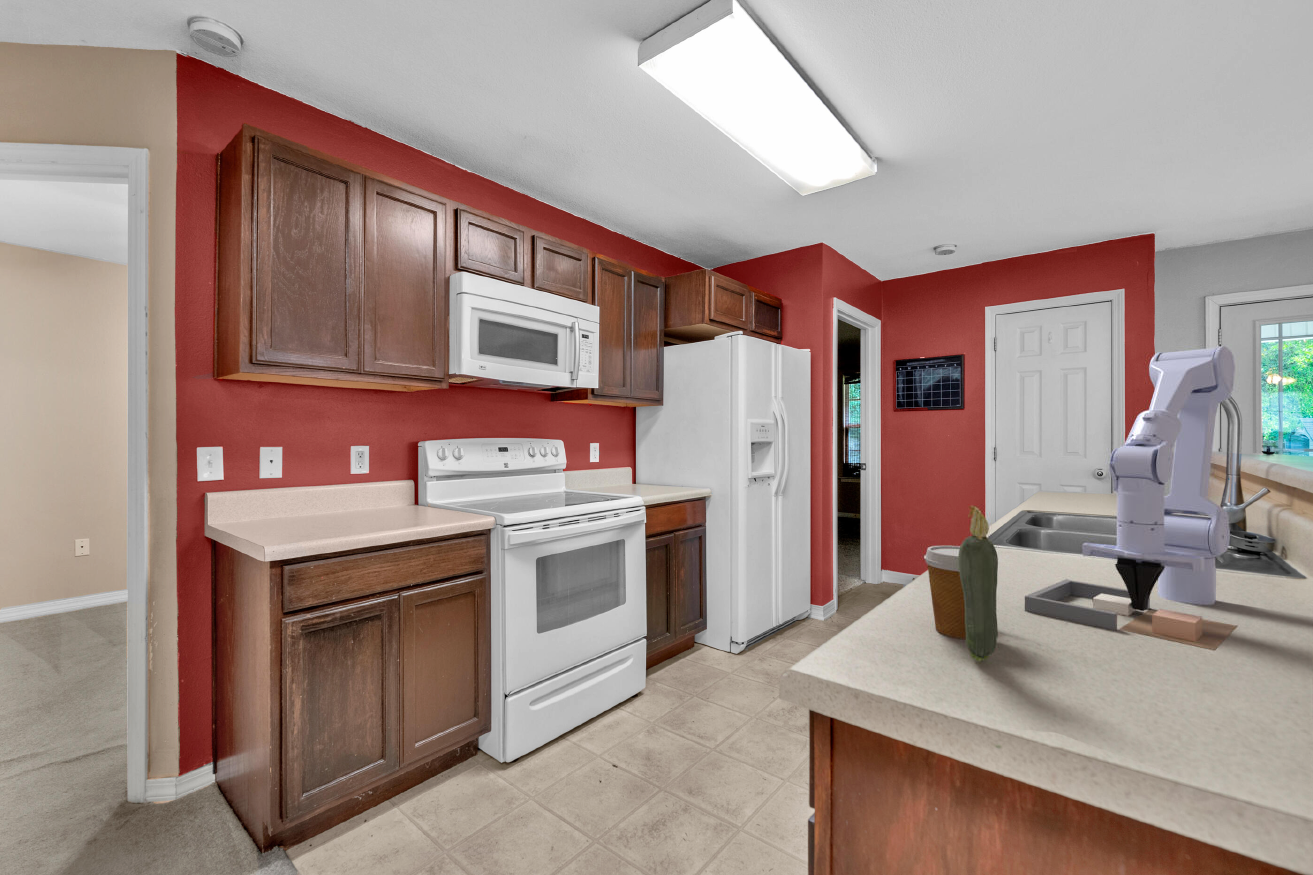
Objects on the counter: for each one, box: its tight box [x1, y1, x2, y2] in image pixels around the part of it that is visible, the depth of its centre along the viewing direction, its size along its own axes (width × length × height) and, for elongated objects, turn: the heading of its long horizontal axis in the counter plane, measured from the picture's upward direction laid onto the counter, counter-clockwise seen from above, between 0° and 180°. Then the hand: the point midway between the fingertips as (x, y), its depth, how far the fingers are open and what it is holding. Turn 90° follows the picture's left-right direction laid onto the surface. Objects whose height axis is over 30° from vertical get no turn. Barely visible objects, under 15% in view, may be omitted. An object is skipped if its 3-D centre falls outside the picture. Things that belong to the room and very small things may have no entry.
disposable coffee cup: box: [923, 545, 966, 640], centre depth 85 cm, size 10×10×12 cm
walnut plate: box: [1118, 608, 1238, 651], centre depth 84 cm, size 16×10×1 cm, turn 127°
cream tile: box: [1092, 593, 1137, 617], centre depth 92 cm, size 4×4×2 cm
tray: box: [1024, 578, 1151, 632], centre depth 92 cm, size 18×12×4 cm, turn 127°
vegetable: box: [958, 505, 999, 663], centre depth 73 cm, size 4×4×20 cm
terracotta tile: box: [1152, 608, 1203, 641], centre depth 81 cm, size 4×4×2 cm
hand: (1139, 608), depth 90 cm, fingers closed
